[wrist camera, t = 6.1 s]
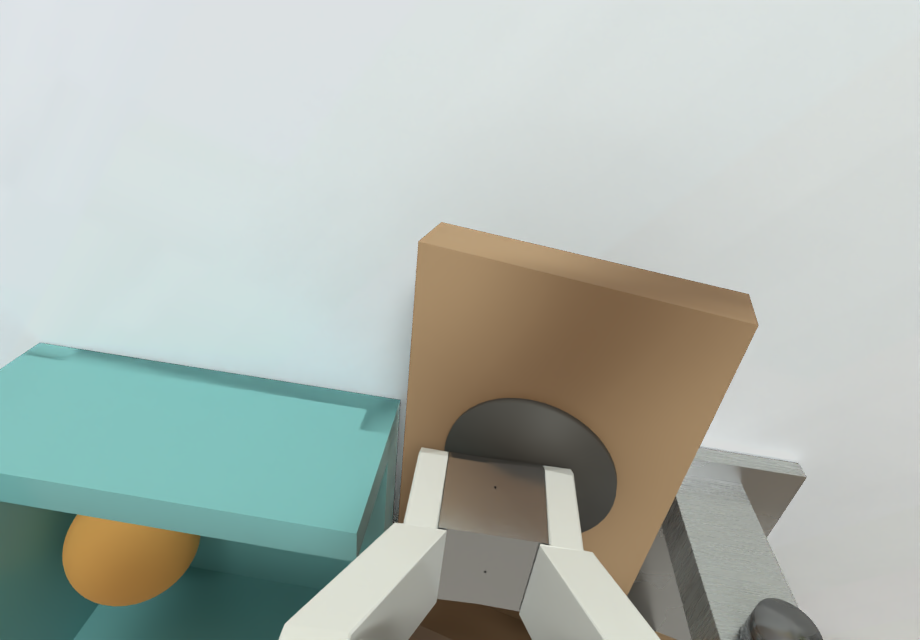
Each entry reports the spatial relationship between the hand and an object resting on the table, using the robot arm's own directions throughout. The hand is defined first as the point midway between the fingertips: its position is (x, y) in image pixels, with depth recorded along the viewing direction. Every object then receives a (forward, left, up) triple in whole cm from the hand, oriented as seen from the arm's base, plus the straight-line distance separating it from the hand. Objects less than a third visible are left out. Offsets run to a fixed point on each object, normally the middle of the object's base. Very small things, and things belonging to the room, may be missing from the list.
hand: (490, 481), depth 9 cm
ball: (+10, +7, -2) cm, 12 cm away
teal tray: (+8, +7, -5) cm, 12 cm away
